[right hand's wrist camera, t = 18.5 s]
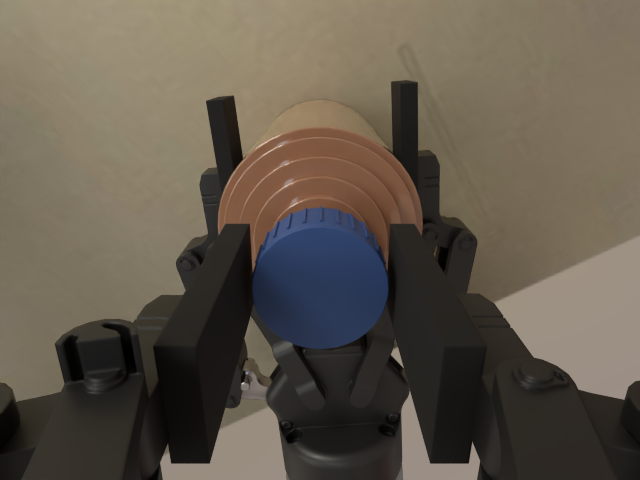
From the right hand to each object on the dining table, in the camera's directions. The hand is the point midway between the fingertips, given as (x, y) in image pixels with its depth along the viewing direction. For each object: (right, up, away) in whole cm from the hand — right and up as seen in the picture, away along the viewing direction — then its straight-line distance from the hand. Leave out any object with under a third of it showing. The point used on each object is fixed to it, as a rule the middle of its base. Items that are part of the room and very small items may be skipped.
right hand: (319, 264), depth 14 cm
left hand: (0, +8, +7) cm, 10 cm away
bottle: (0, +6, +15) cm, 16 cm away
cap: (0, -1, -1) cm, 2 cm away
